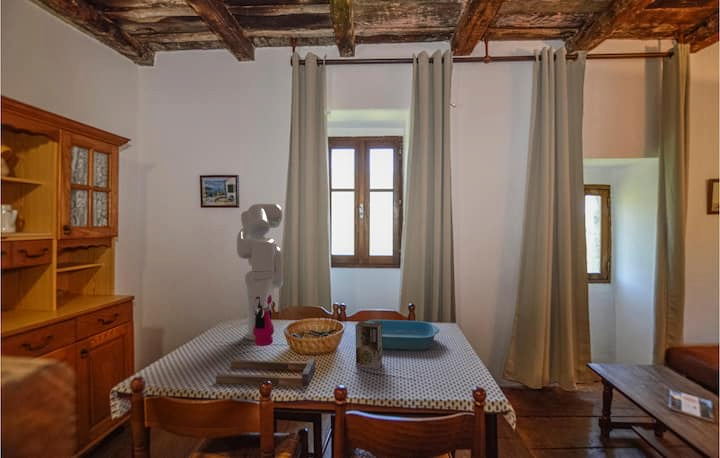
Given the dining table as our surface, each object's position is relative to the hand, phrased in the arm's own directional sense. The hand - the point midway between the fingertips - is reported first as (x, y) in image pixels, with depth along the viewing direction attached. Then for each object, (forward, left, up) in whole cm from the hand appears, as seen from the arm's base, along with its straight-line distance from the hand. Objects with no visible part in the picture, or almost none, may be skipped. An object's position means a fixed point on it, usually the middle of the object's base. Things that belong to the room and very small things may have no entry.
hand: (263, 324), depth 121 cm
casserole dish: (-35, +49, -19) cm, 63 cm away
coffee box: (-11, +37, -19) cm, 43 cm away
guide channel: (0, +1, -18) cm, 19 cm away
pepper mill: (0, 0, -7) cm, 7 cm away
